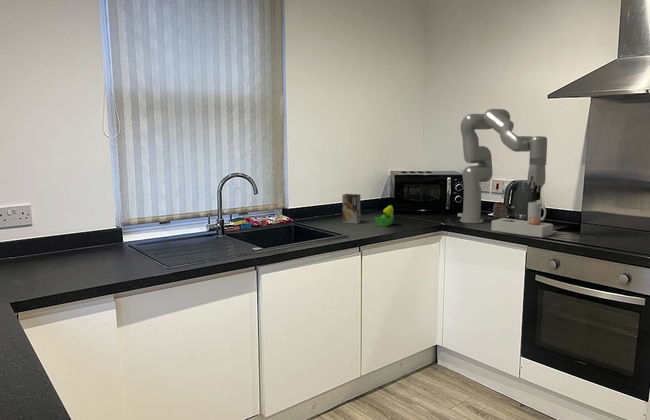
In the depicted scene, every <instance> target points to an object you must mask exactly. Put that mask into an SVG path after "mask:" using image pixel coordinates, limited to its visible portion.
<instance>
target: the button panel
mask: <svg viewBox="0 0 650 420" xmlns="http://www.w3.org/2000/svg"><path fill="white" fill-rule="evenodd" d="M504 220H513V221H515V222H506V221H504ZM490 229H491V231H492V232H493V231H494V232H501V233H508V234H514V235H515V234H516V235H523V236H529V237H537V238H544V237H548V236H551V235H553V234H554V233H553V231H554V224H553V223H549V222H548V223H546V222H540V225H531V224H529V221H528V220H524V219H516V218H515V219H514V218H513V219H512V218H508V217H507V218H501V219H493V220H491V228H490Z"/></svg>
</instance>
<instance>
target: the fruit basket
mask: <svg viewBox="0 0 650 420" xmlns="http://www.w3.org/2000/svg"><path fill="white" fill-rule="evenodd" d="M382 212H383V214H380V215H376V216H375V217H374V220H375V223H376V226H377V227H383V228H384V227H385V228H386V227H388V226H391V225H392V223H393V221H394V220H393V219H394V218H395V215H393V214H394V207H393V205H392V204H389V205H388V206H386V207H385V208H384V209H382Z"/></svg>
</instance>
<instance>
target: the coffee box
mask: <svg viewBox="0 0 650 420" xmlns="http://www.w3.org/2000/svg"><path fill="white" fill-rule="evenodd" d="M341 199H342V203H341V204H342V223H343V224H352V225H353V224H354V225H355V224H356V225H357V224H360V223H361V194H360V193H358V194H357V193H344V194H342V198H341Z"/></svg>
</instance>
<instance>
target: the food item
mask: <svg viewBox="0 0 650 420" xmlns="http://www.w3.org/2000/svg"><path fill="white" fill-rule="evenodd" d="M504 203H505V202H502V201H499V202H495V203H494V204H493V208H492V214H493V215H492V216H493V219H494V220H497V219H501V218H507V219H508V207H507V206H506V205H505V206H506V207H507V208H506V207H505V206H504Z"/></svg>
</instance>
